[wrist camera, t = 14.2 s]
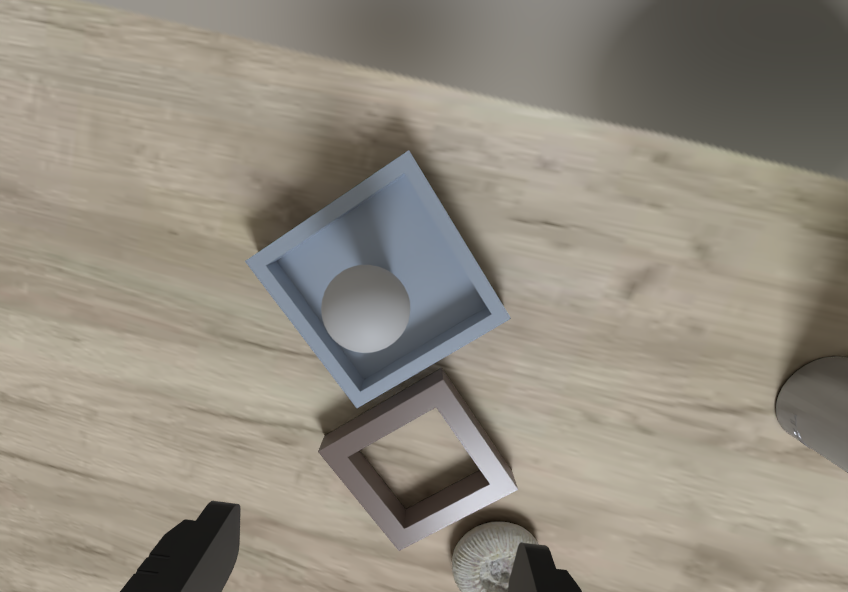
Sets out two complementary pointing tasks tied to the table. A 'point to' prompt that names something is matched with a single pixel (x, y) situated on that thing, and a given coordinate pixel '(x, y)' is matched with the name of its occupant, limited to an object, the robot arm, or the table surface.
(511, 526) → the fossil
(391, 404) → the brownish grey square frame
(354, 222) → the tray
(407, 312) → the lightbulb
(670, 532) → the table surface
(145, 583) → the robot arm
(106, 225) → the table surface
